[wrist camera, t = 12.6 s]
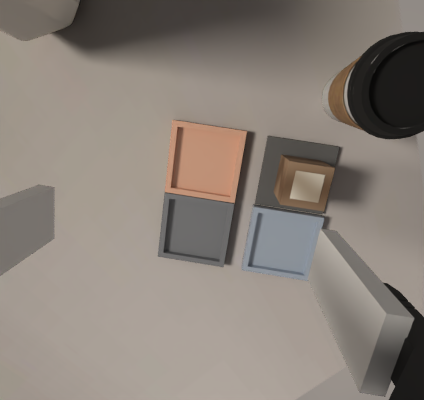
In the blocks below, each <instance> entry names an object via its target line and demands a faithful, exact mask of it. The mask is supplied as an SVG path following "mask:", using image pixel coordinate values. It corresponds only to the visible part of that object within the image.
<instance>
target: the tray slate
mask: <svg viewBox="0 0 424 400" xmlns="http://www.w3.org/2000/svg"><path fill="white" fill-rule="evenodd" d="M323 222H324V217H323V216H322V215H317V214H311V213H304V212H298V211H292V210H285V209H279V208H273V207H266V206H260V205H254V204H253V208H252V214H251V219H250V224H249V230H248V235H247V240H246V245H245V251H244V256H243V261H242V270H244V271H250V272H256V273H262V274H269V275H275V276H281V277H287V278H293V279H299V280H305V281H308V276H309V272H310V268H311V264H312V260H313V256H314V252H315V248H316V244H317V240H318V236H319V232H320V228H321V229H322V226H323Z"/></svg>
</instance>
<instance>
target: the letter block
mask: <svg viewBox="0 0 424 400" xmlns="http://www.w3.org/2000/svg"><path fill="white" fill-rule="evenodd" d="M334 171H335V168H334V167H332V166H330V165H328V164H326V163H324V162H322V161H320V160H314V159H308V158H301V157H295V156H288V155H282V154H281V158H280V163H279V168H278V172H277V177H276V182H275V187H274V194H275V196H276V198H277V200H278V201H279V203H280V205H286V206H293V207H299V208H305V209H312V210H318V211H324V210H325V206H326V202H327V198H328V194H329V190H330V186H331V182H332V179H333V175H334Z"/></svg>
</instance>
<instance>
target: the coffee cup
mask: <svg viewBox="0 0 424 400" xmlns="http://www.w3.org/2000/svg"><path fill="white" fill-rule="evenodd" d="M322 105H323V108H324V110H325V112H326V113H327V114H328V115H329V116H330V117H331V118H332V119H334V120H337V121H339V122H343V123H345V124H348V125H350V126H353V127H356V128H358V129H361V130H364V131H366V132H367V133H369V134H371V135H373V136H375V137H378V138H383V139H401V138H406V137H410V136H413V135H415V134H418V133H420V132H422V131H424V32H405V33H400V34H396V35H391V36H389V37H386V38H384V39H382V40H380V41H378V42H377V43H375V44H374V45H372V46H371V47H370V48H369V49H368V50H367V51H366V52H365V53H364V54H363V55H362V56H360V57H359V58H358V59H356V60H355V61H354V62H352V63H351V64H350V65H348V66H347V67H346V68H344V69H343V70H342V71H341V72H339V73H338V74H336V75H335V76H333V77H332V78H331V79H330V80H329V81H328V83H327V84H326V86H325V88H324V90H323V94H322Z"/></svg>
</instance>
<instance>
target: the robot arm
mask: <svg viewBox="0 0 424 400" xmlns="http://www.w3.org/2000/svg"><path fill="white" fill-rule="evenodd" d="M53 239H54V187H51V186H44V185H37V186H34V187H31V188H29V189H26V190H23V191H20V192H18V193H15V194H12V195H9V196H6V197H4V198H1V199H0V276H1V275H2V274H4V273H5V272H7V271H8V270H10V269H11V268H12V267H14V266H15V265H17V264H18V263H20V262H21V261H23V260H24V259H25V258H27V257H28V256H30V255H31V254H33V253H34V252H36V251H37V250H38V249H40V248H41V247H43V246H44V245H46V244H47V243H49V242H50V241H51V240H53ZM308 281H309V283H310V285H311V288H312V290H313V292H314V294H315V296H316V299H317V301H318V303H319V305H320V307H321V309H322V312H323V314H324V316H325V318H326V320H327V323H328V325H329V327H330V329H331V331H332V334H333V336H334V338H335V340H336V342H337V344H338V347H339V349H340V351H341V353H342V355H343V358H344V360H345V362H346V364H347V366H348V368H349V371H350V373H351V375H352V377H353V379H354V381H355V384H356V386H357V388H358V390H359V392H360V393H366V394H372V395H378V396H384V397H385V395H386V393H387V390H388V387H389V385H390V382H391V380H392V381H393V383H394V385H395V388H394V390H393V392H392V394H391V396H390V399H389V400H424V317H423V316H422V315H421V314H420V313H419V312H418V311H417V310H416V309H415V307H414V306H413V305H412V304H411V303H410V302H408V300H407V299H406V298H405V297H404V296H403V295H402V294H401V293H400V292H399V291H398V290H396V289H395V288H393V287H392V286H390V285H389V284H387V283H383V282H382V281H381V280H380V279H379V278H378V277H377V276H376V275H375V274H374V272H373V271H372V270H371V269H370V268H369V267H368V266H367V265H366V263H365V262H364V261H363V260H362V259H361V258H360V257H359V256H358V255H357V253H356V252H355V251H354V250H353V249H352V248H351V247H350V246H349V244H348V243H347V242H346V241H345V240H344V239H343V238H342V237H341V236H340V234H339V233H338V232H337V231H334V230H327V229H321V228H320V232H319V236H318V240H317V244H316V248H315V252H314V256H313V260H312V264H311V268H310V272H309V276H308Z"/></svg>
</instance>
